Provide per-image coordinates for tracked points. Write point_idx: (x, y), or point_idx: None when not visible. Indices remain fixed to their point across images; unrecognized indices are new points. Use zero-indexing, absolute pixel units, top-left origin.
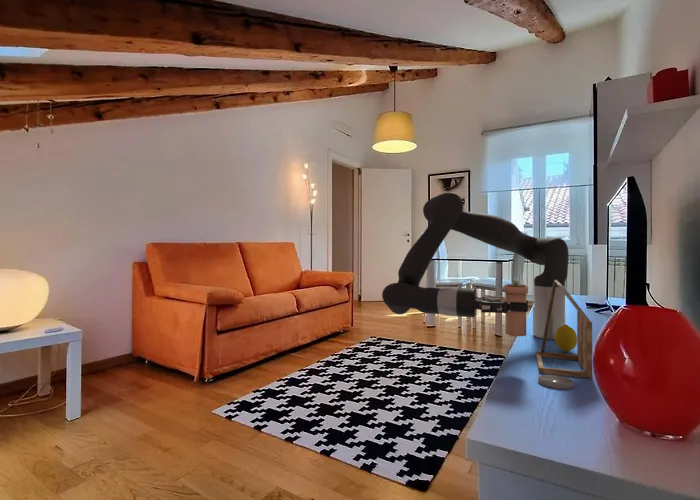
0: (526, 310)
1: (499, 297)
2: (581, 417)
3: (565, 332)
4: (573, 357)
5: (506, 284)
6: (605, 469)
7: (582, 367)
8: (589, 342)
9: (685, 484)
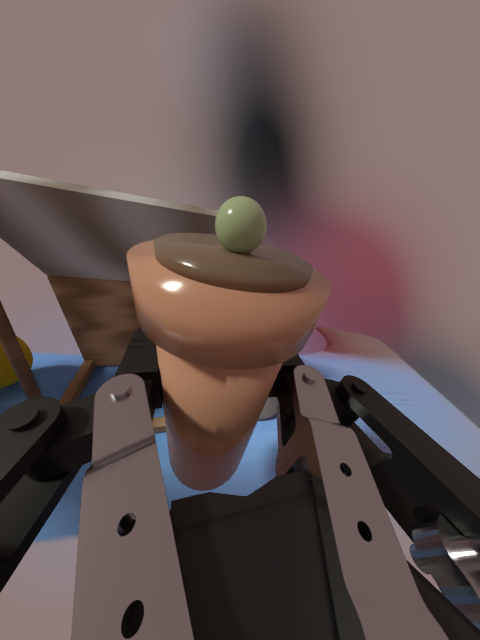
0: None
1: (160, 474)
2: (340, 372)
3: None
4: (90, 369)
5: (255, 277)
6: (403, 364)
7: None
8: None
9: (370, 337)
